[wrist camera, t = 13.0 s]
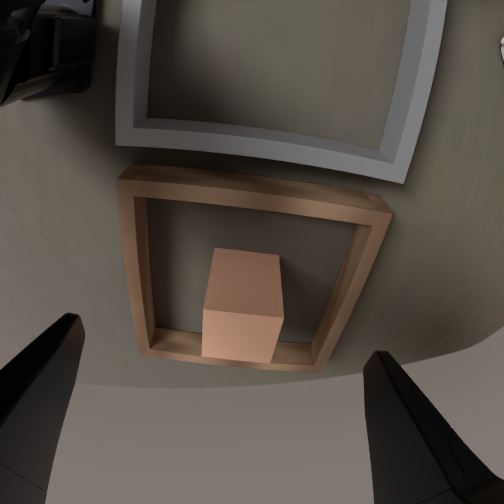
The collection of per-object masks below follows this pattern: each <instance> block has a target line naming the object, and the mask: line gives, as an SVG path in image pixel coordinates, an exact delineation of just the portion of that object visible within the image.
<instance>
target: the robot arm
mask: <svg viewBox="0 0 504 504" xmlns="http://www.w3.org/2000/svg"><path fill="white" fill-rule="evenodd" d="M95 8H96V0H89V1H88V2H87V3H86V0H48V1H46V0H0V107H2V106H4V105H7V104H9V103H12V102H14V101H17V100H19V99H22V98H29V97H37V96H46V95H56V94H68V93H81V92H84V91H86V90H88V88H89V87H90V76H91V61H92V60H93V58H94V43H95V31H96V20H95V19H94V17H95ZM81 81H83V83H84V86H83V88H82V87H81V86H80V82H81ZM84 340H85V331H84V327H83V324H82V321H81V318H80V316H79V315H78V314H73V313H66V314H64V315H63V316H62V317H61V318H59V319H58V320H57V321H56V322H55V323H53V324H52V325H51V326H50V327H49V328H47V329H46V330H45V331H44V332H43V333H42V334H40V335H39V336H38V337H37V338H36V339H35V340H33V341H32V342H31V343H30V344H29V345H28V346H27V347H25V348H24V349H23V350H22V351H21V352H20V353H19V354H18V355H16V356H15V357H14V358H13V359H12V360H11V361H10V362H8V363H7V364H6V365H5V366H4V367H3V368H2V369H1V370H0V504H45V500H46V495H47V489H48V484H49V479H50V474H51V470H52V465H53V461H54V457H55V452H56V448H57V444H58V440H59V437H60V433H61V429H62V425H63V422H64V418H65V414H66V411H67V408H68V404H69V401H70V398H71V395H72V391H73V388H74V385H75V381H76V377H77V372H78V367H79V362H80V358H81V353H82V349H83V345H84ZM363 376H364V399H365V400H364V403H365V404H364V405H365V418H366V425H367V434H368V442H369V451H370V460H371V470H372V480H373V481H372V482H373V492H374V504H504V480H503V479H501V478H499V477H497V476H496V475H495V474H494V473H493V472H491V471H490V469H489V468H488V467H487V466H486V465H485V464H484V463H483V462H482V461H481V460H480V459H479V458H478V457H477V456H476V455H475V454H474V453H473V452H472V451H471V450H470V449H469V447H468V446H467V445H466V444H465V443H464V442H463V441H462V439H461V438H460V437H459V436H458V435H457V433H456V432H455V431H454V430H453V429H452V428H451V426H450V425H449V424H448V422H447V421H446V420H445V419H444V418H443V416H442V415H441V414H440V413H439V411H438V410H437V409H436V408H435V407H434V405H433V404H432V403H431V402H430V401H429V399H428V398H427V397H426V396H425V395H424V393H423V392H422V391H421V390H420V389H419V387H418V386H417V385H416V384H415V383H414V382H413V380H412V379H411V378H410V377H409V376H408V374H407V373H406V372H405V371H404V370H403V369H402V367H401V366H400V365H399V364H398V363H397V361H396V360H395V359H394V358H393V357H392V356H391V354H390V353H389V352H387V351H375V352H374V353H373V354H372V356H371V357H370V358H369V360H368V361H367V363H366V364H365V366H364V369H363Z"/></svg>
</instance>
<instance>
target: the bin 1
mask: <svg viewBox="0 0 504 504" xmlns="http://www.w3.org/2000/svg"><path fill="white" fill-rule="evenodd" d="M156 4H157V0H123V5H122V13H121V22H120V32H119V43H118V57H117V74H116V103H115V141H116V146H139V147H157V148H171V149H184V150H196V151H206V152H216V153H225V154H234V155H243V156H251V157H258V158H266V159H273V160H280V161H286V162H293V163H299V164H305V165H311V166H317V167H323V168H329V169H334V170H339V171H345V172H350V173H355V174H360V175H365V176H370V177H374V178H379V179H383V180H388V181H392V182H397V183H401V184H404V181H405V178H406V175H407V171H408V168H409V165H410V162H411V159H412V156H413V152H414V149H415V146H416V142H417V139H418V136H419V132H420V129H421V125H422V121H423V118H424V114H425V110H426V106H427V102H428V98H429V94H430V90H431V86H432V82H433V77H434V73H435V68H436V63H437V59H438V54H439V48H440V43H441V38H442V32H443V26H444V19H445V13H446V6H447V0H411V5H410V11H409V17H408V23H407V29H406V35H405V40H404V45H403V51H402V56H401V61H400V65H399V70H398V75H397V79H396V84H395V88H394V92H393V97H392V101H391V105H390V109H389V113H388V117H387V121H386V125H385V129H384V133H383V136H382V140H381V144H380V147H379V150H376V149H372V148H368V147H363V146H359V145H354V144H350V143H345V142H340V141H336V140H331V139H325V138H320V137H315V136H309V135H304V134H298V133H292V132H286V131H279V130H272V129H266V128H258V127H251V126H243V125H234V124H225V123H215V122H204V121H192V120H177V119H159V118H147V106H148V87H149V72H150V59H151V48H152V38H153V29H154V20H155V12H156Z"/></svg>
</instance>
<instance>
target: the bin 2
mask: <svg viewBox="0 0 504 504" xmlns="http://www.w3.org/2000/svg"><path fill="white" fill-rule="evenodd" d="M117 190H118V204H119V217H120V227H121V237H122V246H123V255H124V263H125V271H126V278H127V285H128V291H129V298H130V304H131V310H132V315H133V321H134V326H135V332H136V337H137V342H138V347H139V352H140V354H143V355H149V356H155V357H161V358H167V359H174V360H181V361H188V362H196V363H204V364H212V365H221V366H231V367H241V368H253V369H265V370H281V371H300V372H322V370H323V368H324V367H325V365H326V363H327V361H328V359H329V357H330V355H331V353H332V351H333V349H334V347H335V345H336V343H337V341H338V339H339V337H340V335H341V333H342V331H343V329H344V327H345V325H346V323H347V321H348V319H349V317H350V315H351V313H352V310H353V308H354V306H355V304H356V302H357V300H358V297H359V295H360V293H361V291H362V288H363V286H364V284H365V282H366V279H367V277H368V275H369V272H370V270H371V268H372V265H373V263H374V261H375V258H376V256H377V253H378V251H379V248H380V246H381V243H382V241H383V238H384V236H385V233H386V231H387V228H388V225H389V223H390V220H391V217H392V215H393V214H392V212H391V211H390V210H389V208H388V207H387V205H386V204H385V202H384V201H383V200H382V198H381V197H380V196H379V195H374V194H369V193H364V192H358V191H353V190H348V189H342V188H336V187H330V186H325V185H319V184H312V183H306V182H300V181H293V180H286V179H279V178H272V177H265V176H257V175H250V174H242V173H233V172H225V171H215V170H206V169H196V168H185V167H174V166H161V165H148V164H133V163H131V164H130V165H129V167H128V168H127V169H126V170H125V171H124V172H123V173H122V174H121V175H120V176H119V177H118V178H117ZM147 197H148V198H159V199H169V200H179V201H189V202H198V203H208V204H217V205H225V206H234V207H242V208H250V209H258V210H266V211H274V212H282V213H289V214H296V215H303V216H311V217H318V218H324V219H331V220H338V221H344V222H351V223H356V226H355V229H354V232H353V235H352V238H351V240H350V243H349V246H348V249H347V252H346V255H345V258H344V260H343V263H342V266H341V269H340V271H339V274H338V277H337V279H336V282H335V285H334V287H333V290H332V293H331V295H330V298H329V300H328V303H327V305H326V308H325V310H324V313H323V315H322V318H321V320H320V323H319V325H318V328H317V330H316V333H315V335H314V337H313V340H312V342H311V344H310V343H294V342H280V341H277V343H276V346H275V349H274V352H273V356H272V359H271V362H270V363H260V362H249V361H238V360H228V359H219V358H211V357H203V356H202V334H200V333H193V332H185V331H178V330H171V329H164V328H157V327H156V324H155V315H154V306H153V296H152V285H151V272H150V259H149V243H148V223H147Z"/></svg>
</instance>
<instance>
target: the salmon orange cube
mask: <svg viewBox="0 0 504 504" xmlns="http://www.w3.org/2000/svg"><path fill="white" fill-rule="evenodd" d="M283 320H284V310H283V297H282V285H281V273H280V262H279V255H274V254H266V253H257V252H249V251H241V250H232V249H224V248H214V254H213V259H212V264H211V270H210V275H209V281H208V286H207V292H206V298H205V303H204V309H203V331H202V356H203V357H211V358H219V359H228V360H238V361H249V362H260V363H270V362H271V359H272V356H273V352H274V349H275V346H276V343H277V340H278V336H279V333H280V330H281V326H282V323H283Z"/></svg>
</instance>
